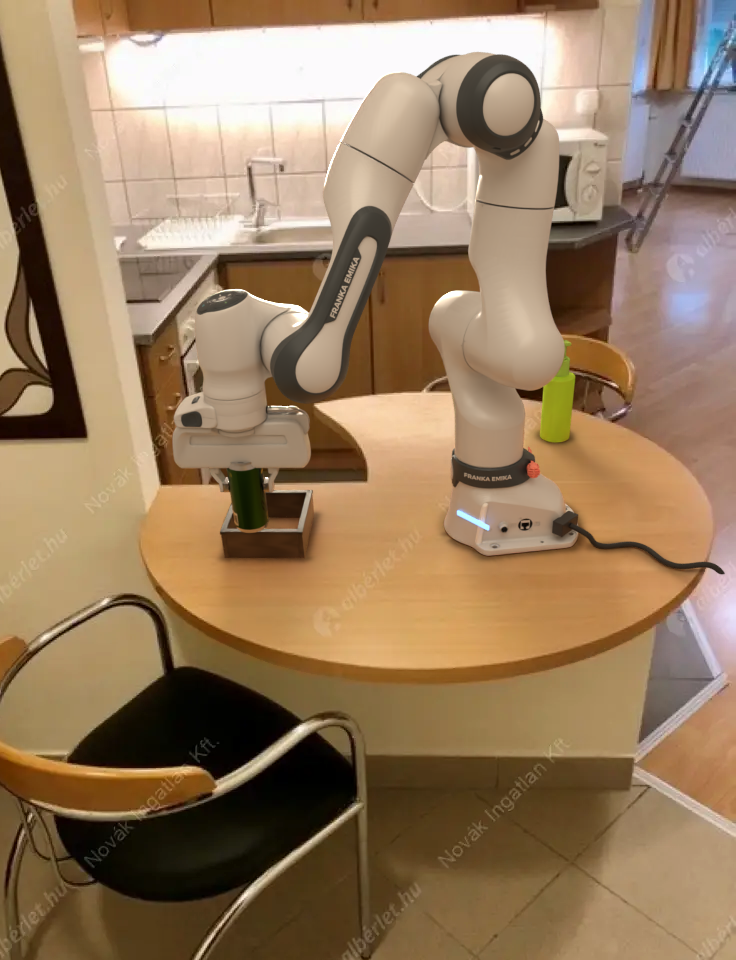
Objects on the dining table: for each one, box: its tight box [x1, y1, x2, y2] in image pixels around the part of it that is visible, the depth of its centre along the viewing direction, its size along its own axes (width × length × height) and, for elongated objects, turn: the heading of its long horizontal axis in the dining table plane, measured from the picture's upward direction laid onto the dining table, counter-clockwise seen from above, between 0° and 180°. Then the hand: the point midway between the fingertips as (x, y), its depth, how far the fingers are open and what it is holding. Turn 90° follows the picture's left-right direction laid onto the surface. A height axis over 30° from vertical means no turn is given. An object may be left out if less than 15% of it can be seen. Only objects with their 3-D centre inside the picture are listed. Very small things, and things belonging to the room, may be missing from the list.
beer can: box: [226, 462, 270, 533], centre depth 130 cm, size 5×5×12 cm
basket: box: [219, 489, 315, 559], centre depth 147 cm, size 14×14×5 cm
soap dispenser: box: [539, 339, 576, 443], centre depth 169 cm, size 6×7×20 cm
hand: (247, 490), depth 130 cm, fingers closed on beer can, 5 cm apart
